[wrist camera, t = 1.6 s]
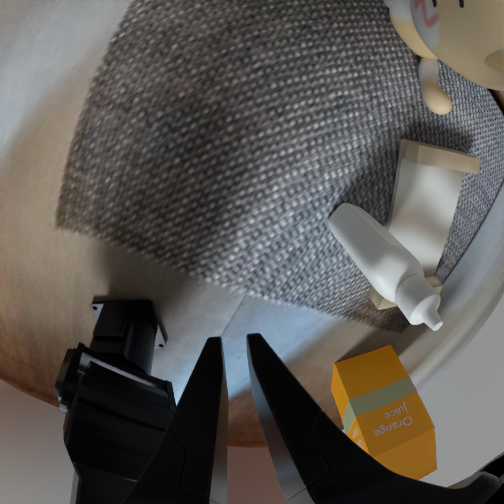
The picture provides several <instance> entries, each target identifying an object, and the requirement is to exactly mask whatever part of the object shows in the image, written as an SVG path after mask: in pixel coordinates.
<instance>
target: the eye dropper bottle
mask: <svg viewBox="0 0 504 504" xmlns="http://www.w3.org/2000/svg"><path fill="white" fill-rule="evenodd" d="M328 225H329V227H330V229H331V231H332V233H333V234H334V236H335V237H336V238H337V240H338V241H339V242H340V243H341V245H342V246H343V247H344V249H345V250H346V251H347V252H348V254H349V255H350V256H351V258H352V259H353V260H354V262H355V263H356V264H357V265H358V267H359V268H360V269H361V271H362V272H363V274H364V275H365V276H366V278H367V279H368V280H369V282H370V283H371V284H372V286H373V287H374V288H375V289H376V291H377V292H378V293H379V294H380V295H381V296H383V297H384V298H385V299H387V300H389V301H391V302H394V303H396V304H397V305H398V307H399V308H400V310H401V311H402V312H403V314H404V315H405V317H406V318H407V319H408V321H409V322H410V323H411V324H413V325H418V324H421V323H423V322H424V323H425V324H427V325H428V326H429V327H430V328H431V329H432V330H433V331H436V330H438V329H439V328H440V327H441V326H442V324H443V322H442V320H441V318H440V316H439V314H438V312H437V309H438V307H439V304H440V295H439V294H438V293H437V292H436V290H435V289H434V288H433V287H432V286H431V285H430V284H429V283H428V281H427V280H426V279H425V278H424V272H423V269H422V267H421V265H420V263H419V261H418V260H417V259H416V258H415V257H414V256H413V254H412V253H411V252H410V251H409V250H407V249H406V248H405V247H404V246H403V245H402V244H401V243H400V242H399V241H398V240H397V239H396V238H395V237H394V236H393V235H392V234H391V233H390V232H389V231H387V230H386V229H385V228H384V227H383V226H382V225H381V224H380V223H379V222H378V221H376V220H375V219H374V218H373V217H372V216H371V215H370V214H368V213H367V212H366V211H365V210H363V209H362V208H360V207H358V206H356V205H353V204H350V203H342V204H341V205H340V206H339V207H338V208H337V209H336V210H335V211H334V213H333V214H332V215H331V216H330V218H329V220H328Z"/></svg>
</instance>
